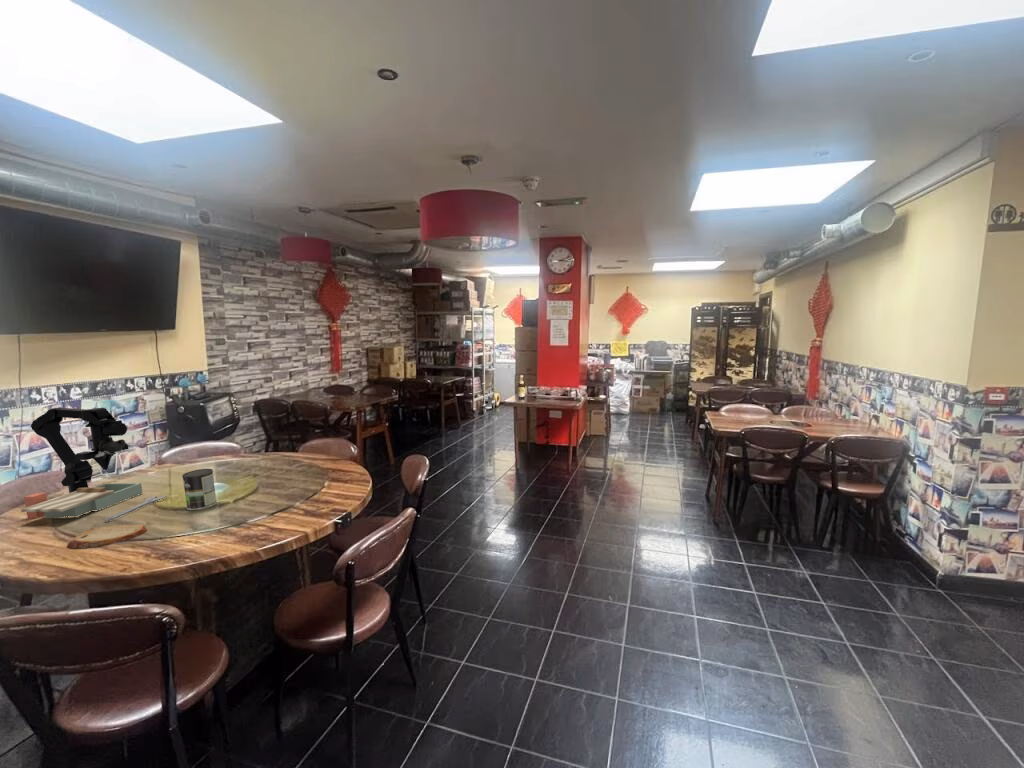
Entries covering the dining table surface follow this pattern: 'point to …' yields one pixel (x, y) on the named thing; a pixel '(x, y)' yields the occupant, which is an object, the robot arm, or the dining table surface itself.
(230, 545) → the dining table surface
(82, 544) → the bread slice
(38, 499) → the red rectangular block
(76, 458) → the robot arm
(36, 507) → the slatted box lid
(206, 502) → the coffee can
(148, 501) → the adjustable wrench
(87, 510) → the grey-green open box
